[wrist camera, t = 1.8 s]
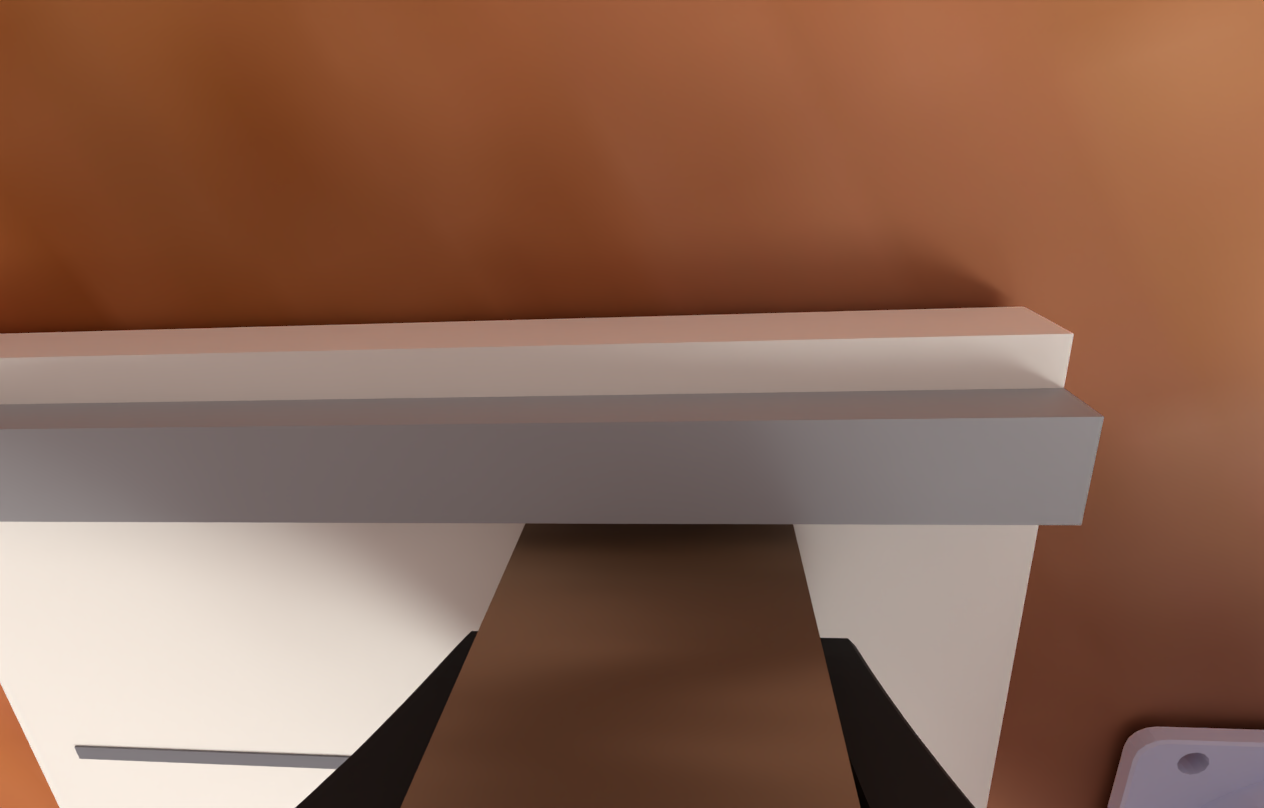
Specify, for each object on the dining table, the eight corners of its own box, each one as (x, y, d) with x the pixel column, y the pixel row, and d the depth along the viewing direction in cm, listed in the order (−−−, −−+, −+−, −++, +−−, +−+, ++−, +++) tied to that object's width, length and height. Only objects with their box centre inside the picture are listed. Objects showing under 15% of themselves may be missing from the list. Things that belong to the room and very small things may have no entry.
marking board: (1024, 306, 10) (1116, 356, 8) (927, 926, 16) (967, 1067, 13) (-57, 334, 12) (-233, 382, 10) (172, 882, 17) (91, 998, 15)
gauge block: (791, 518, 10) (897, 964, 5) (783, 724, 12) (859, 1252, 6) (527, 517, 11) (346, 929, 5) (551, 717, 12) (429, 1205, 7)
